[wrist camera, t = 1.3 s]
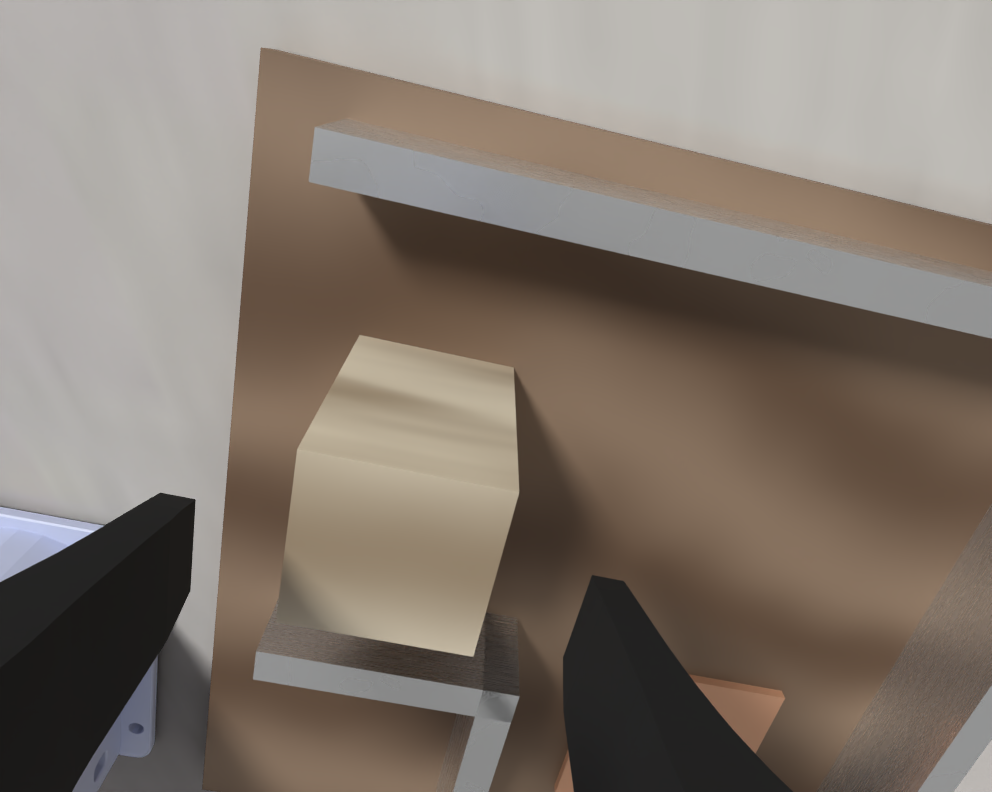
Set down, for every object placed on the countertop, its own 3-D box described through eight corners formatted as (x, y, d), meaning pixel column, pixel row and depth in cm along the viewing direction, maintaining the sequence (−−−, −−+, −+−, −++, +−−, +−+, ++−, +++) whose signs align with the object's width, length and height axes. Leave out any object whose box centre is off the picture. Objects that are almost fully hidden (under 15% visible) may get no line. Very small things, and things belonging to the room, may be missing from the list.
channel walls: (811, 846, 26) (848, 937, 23) (264, 759, 24) (234, 846, 21) (1151, 309, 17) (1272, 353, 15) (347, 118, 16) (314, 126, 13)
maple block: (481, 496, 20) (473, 657, 14) (339, 468, 19) (275, 622, 14) (513, 367, 18) (519, 492, 13) (359, 335, 18) (296, 448, 12)
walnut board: (816, 859, 28) (827, 885, 27) (212, 764, 26) (202, 789, 25) (1194, 274, 18) (1231, 284, 17) (274, 49, 16) (260, 47, 15)
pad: (717, 812, 25) (719, 819, 25) (554, 785, 25) (554, 793, 24) (781, 691, 23) (785, 698, 22) (602, 658, 22) (603, 666, 22)
